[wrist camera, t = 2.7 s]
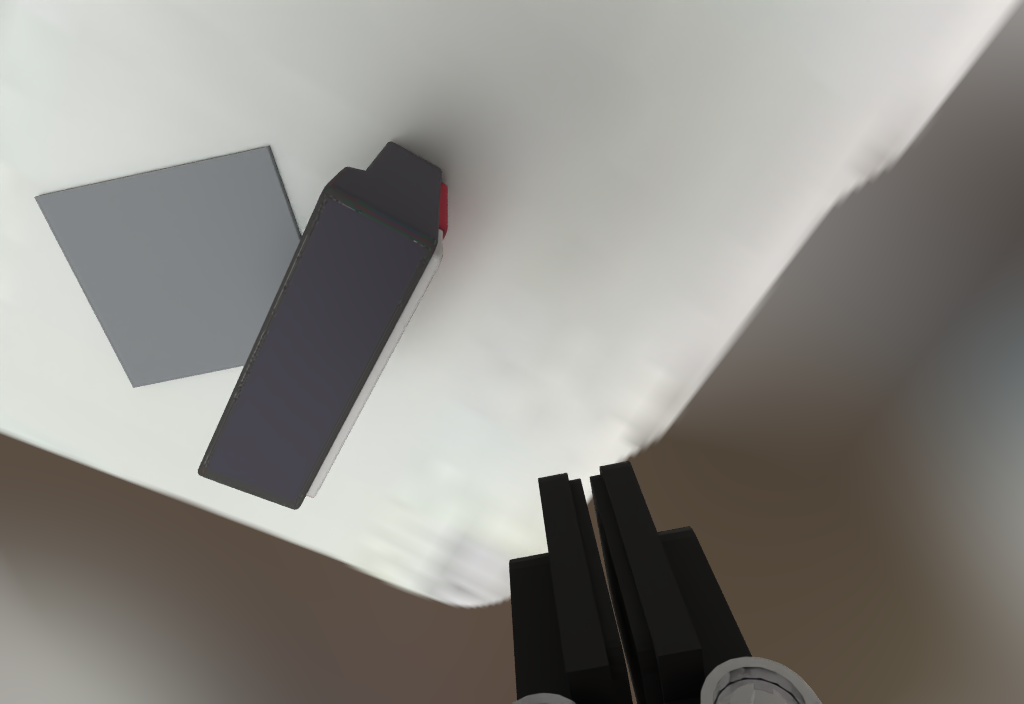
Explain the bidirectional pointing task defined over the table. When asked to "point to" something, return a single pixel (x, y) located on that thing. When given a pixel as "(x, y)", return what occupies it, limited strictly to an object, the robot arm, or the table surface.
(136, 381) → the mat
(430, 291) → the table surface
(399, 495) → the table surface
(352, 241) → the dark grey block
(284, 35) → the table surface
